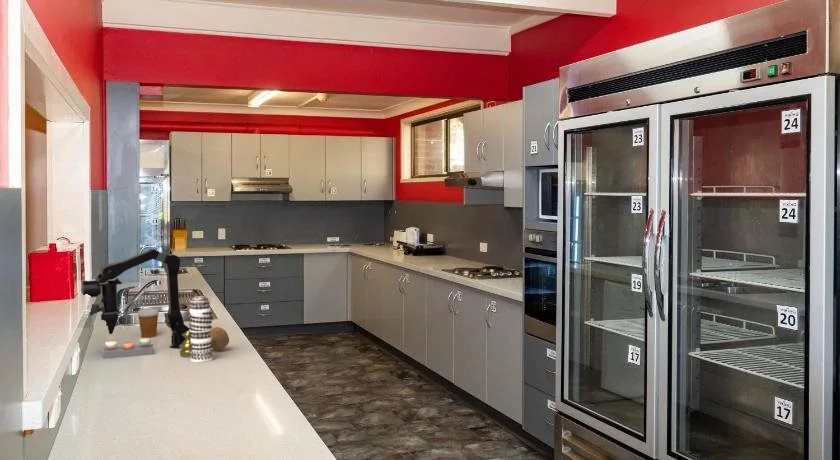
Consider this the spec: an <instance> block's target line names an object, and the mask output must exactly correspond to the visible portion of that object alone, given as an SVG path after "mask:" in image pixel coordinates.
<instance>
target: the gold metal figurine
mask: <svg viewBox="0 0 840 460" xmlns="http://www.w3.org/2000/svg"><path fill="white" fill-rule="evenodd" d="M182 335H183V336H184V337H185V341H184V342H183V343H182V344H180V348H179V349H180V350H179V356H180V357H181V358H191V357H190V356H191V353H190V351H191V350H192V349H190V347H191V345H190V343H191V332H190V330H189V331H186V332H184V333H183V334H182Z"/></svg>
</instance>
